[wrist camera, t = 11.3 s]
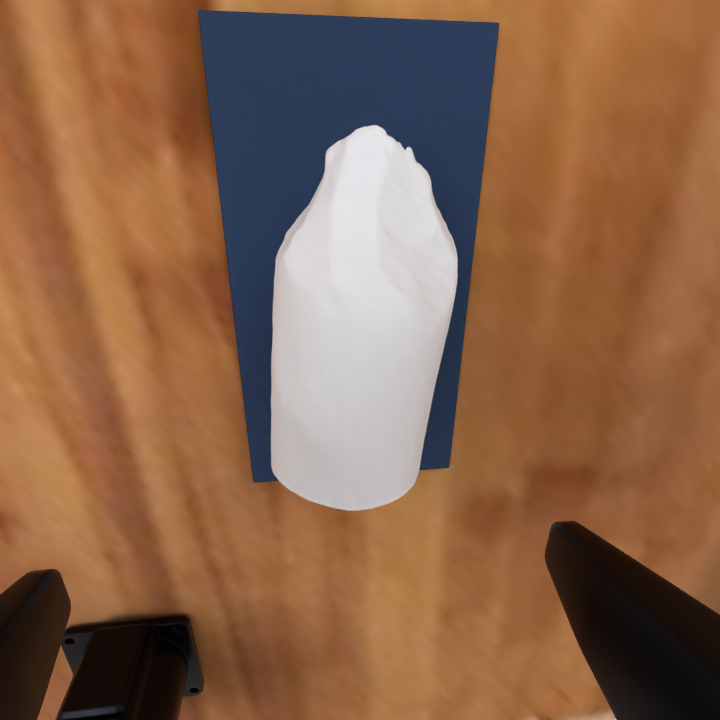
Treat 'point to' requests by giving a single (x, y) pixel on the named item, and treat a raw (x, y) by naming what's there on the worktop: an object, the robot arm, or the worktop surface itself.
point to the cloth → (308, 150)
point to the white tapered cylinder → (359, 326)
